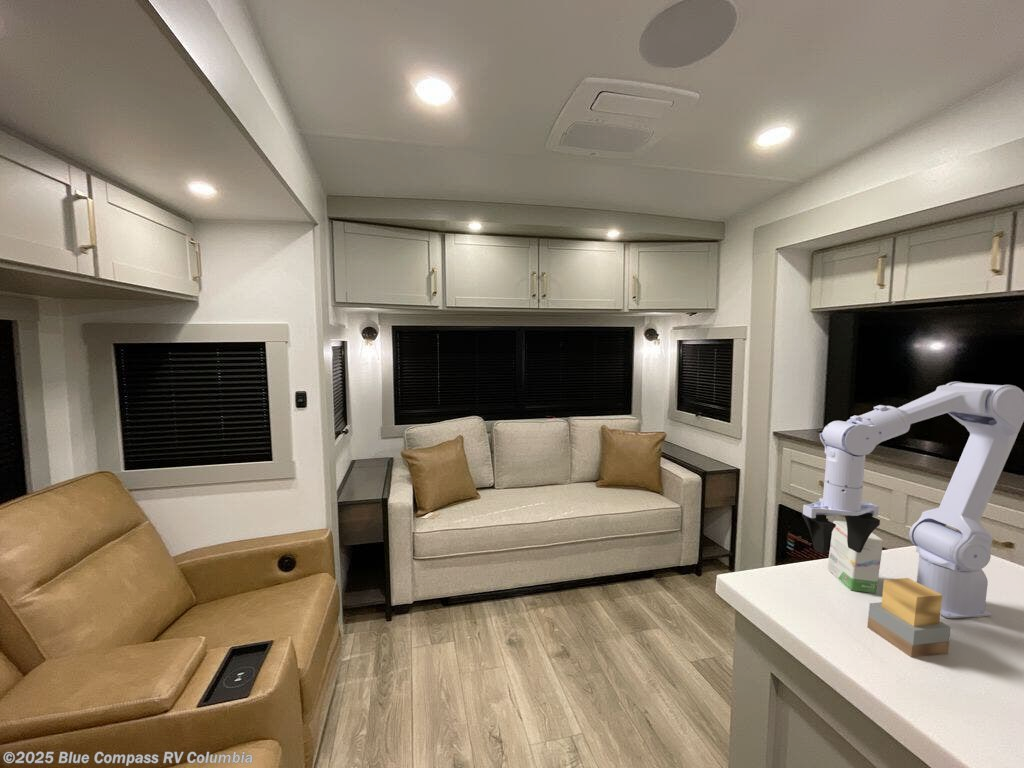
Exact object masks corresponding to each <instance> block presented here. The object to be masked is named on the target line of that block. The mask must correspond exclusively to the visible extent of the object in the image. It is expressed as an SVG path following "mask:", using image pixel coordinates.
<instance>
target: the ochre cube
mask: <svg viewBox="0 0 1024 768" xmlns="http://www.w3.org/2000/svg"><path fill="white" fill-rule="evenodd" d="M881 595H882V596H881V602H882V605H881V607H882V608H884V609H886V610H887V611H889V612H891V613H892V614H894V615H896V616H897V617H899V618H901V619H902V620H904V621H906V622H907V623H909V624H911V625H912V626H923V625H933V624H939V622H940V621H941V620H940V619H941V614H940V613H941V603H942V595H941V594H939V593H937V592H935V591H933V590H931V589H929V588H927V587H925V586H923V585H921V584H919V583H917V581H915V580H913V579H911V578H908V577H904V578H903V577H901V578H891V579H889V578H887V579H883V585H882V594H881Z"/></svg>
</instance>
